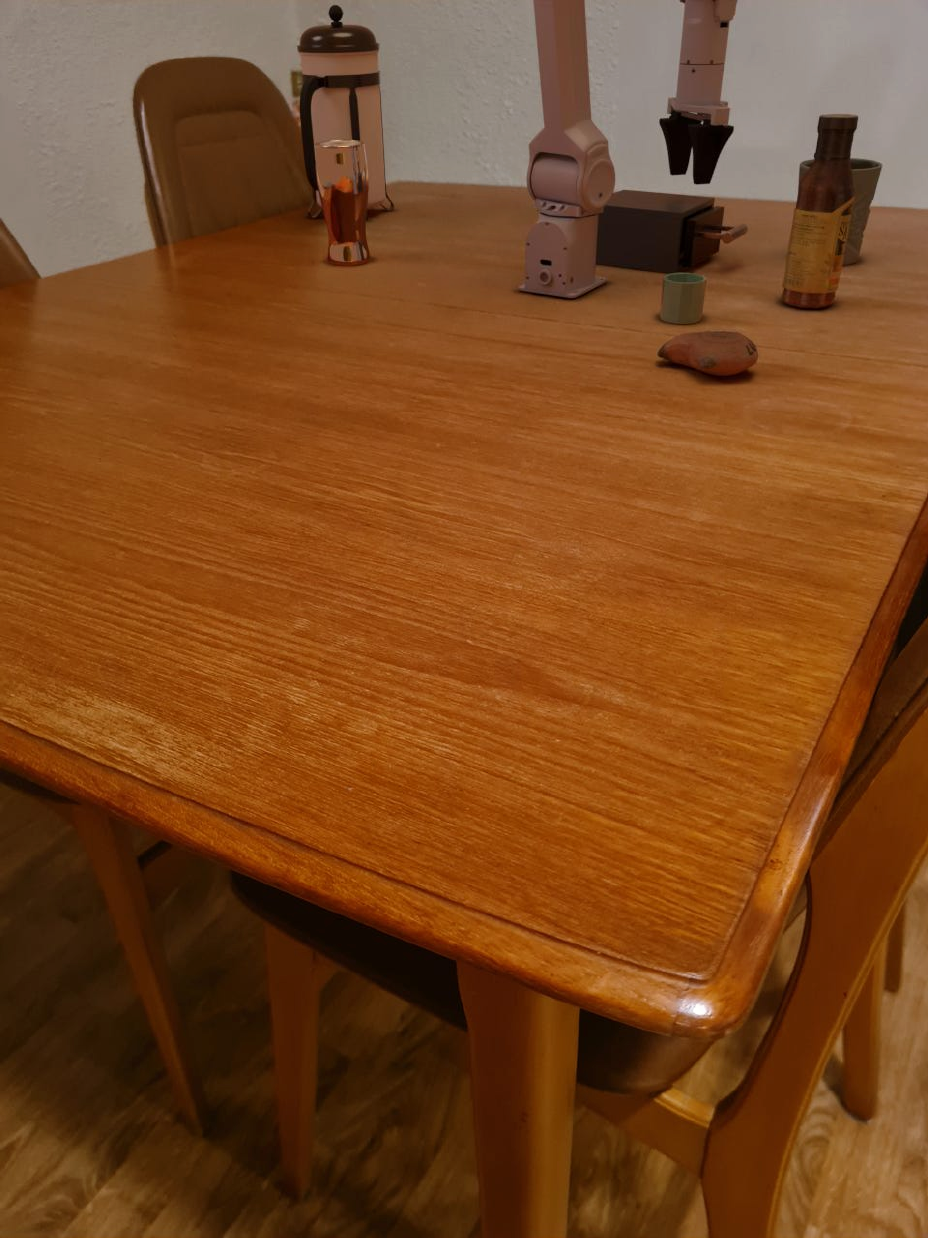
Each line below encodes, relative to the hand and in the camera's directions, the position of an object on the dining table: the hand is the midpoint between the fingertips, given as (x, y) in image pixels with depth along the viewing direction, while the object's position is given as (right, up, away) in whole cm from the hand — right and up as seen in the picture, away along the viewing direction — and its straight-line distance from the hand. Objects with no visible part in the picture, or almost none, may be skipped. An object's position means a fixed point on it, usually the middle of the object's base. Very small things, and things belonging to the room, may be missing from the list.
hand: (689, 179), depth 129 cm
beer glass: (-47, -9, +6) cm, 48 cm away
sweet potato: (-7, -35, -35) cm, 50 cm away
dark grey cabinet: (-5, -10, +3) cm, 11 cm away
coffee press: (-50, +8, +32) cm, 60 cm away
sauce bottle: (+10, -22, -16) cm, 29 cm away
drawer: (-2, -10, +1) cm, 10 cm away
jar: (-6, -25, -20) cm, 33 cm away
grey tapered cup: (+19, -10, +2) cm, 22 cm away
